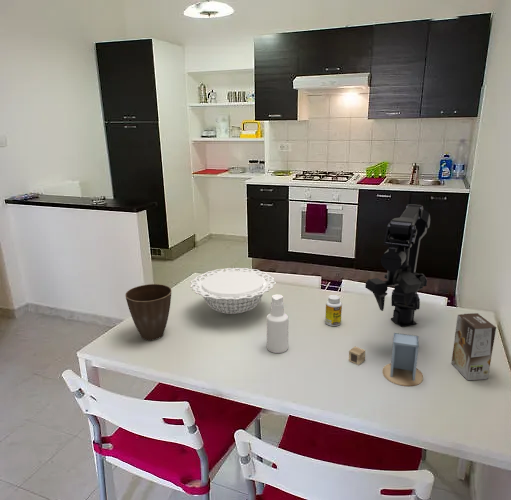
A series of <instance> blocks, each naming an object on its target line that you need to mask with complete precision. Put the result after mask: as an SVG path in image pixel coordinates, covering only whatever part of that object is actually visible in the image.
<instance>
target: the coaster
mask: <svg viewBox="0 0 511 500" xmlns="http://www.w3.org/2000/svg"><path fill="white" fill-rule="evenodd" d="M381 370H382V375H383V377H384V378H385V379H386V380H387V381H389V382H390V383H392V384H394V385H398V386H404V387H415V386H418V385H420V384H421V383H422V382H423V381H424V374H423V373H422V371H421V370H419V368H417V367H416V375H415V381H413V380H412V371H409V370H403V369H397V368H393V377H390V373H391V363H388V364H385V365H384V366H383V367H382V369H381Z"/></svg>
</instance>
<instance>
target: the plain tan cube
mask: <svg viewBox="0 0 511 500" xmlns="http://www.w3.org/2000/svg"><path fill="white" fill-rule="evenodd" d="M348 361H349V362H351V363H353V364H355V365H358V366H360V365H361V364H362V363H364V361H366V349H363V348H361V347H358V346H353V347H352V348H351V349H350V350H349V351H348Z"/></svg>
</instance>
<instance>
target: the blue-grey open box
mask: <svg viewBox="0 0 511 500" xmlns="http://www.w3.org/2000/svg"><path fill="white" fill-rule="evenodd" d="M392 339H393V340H392V352H391V360H390V361H391V373H390V377H393V368H397V369H403V370H409V371H412V380H413V381H415V375H416V368H417V365H418V356H419V336H418V335H413V334H412V335H411V334H405V333H399V332H398V333H397V332H393V338H392Z"/></svg>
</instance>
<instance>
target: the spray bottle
mask: <svg viewBox="0 0 511 500" xmlns="http://www.w3.org/2000/svg"><path fill="white" fill-rule="evenodd" d="M270 304H271V306H270V307H271V308H270V313H268V314H267V315H266V348H267V350H268V351H269V352H270V353H274V354H282V353H286V351H288V349H289V316H288V314H287V313H285V307H284V306H285V305H284V304H285V303H284V296H283V295H282V294H280V293H279V294H272V296H271V302H270Z"/></svg>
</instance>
